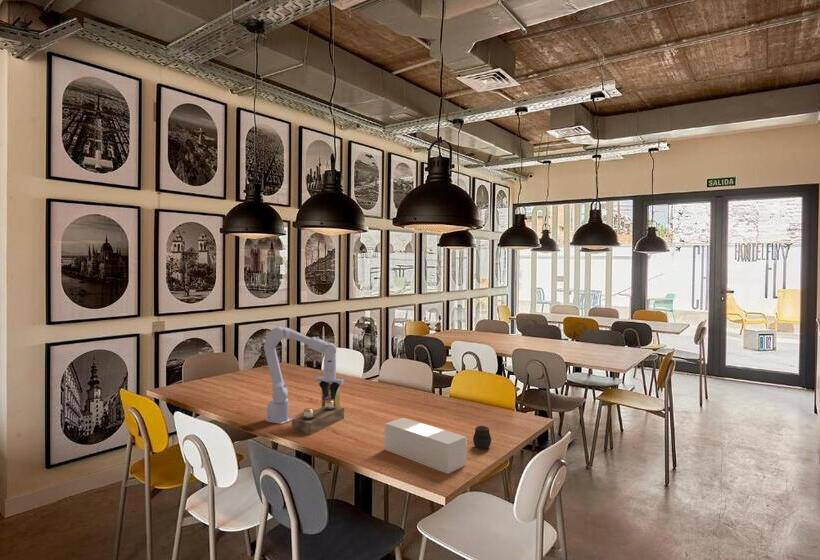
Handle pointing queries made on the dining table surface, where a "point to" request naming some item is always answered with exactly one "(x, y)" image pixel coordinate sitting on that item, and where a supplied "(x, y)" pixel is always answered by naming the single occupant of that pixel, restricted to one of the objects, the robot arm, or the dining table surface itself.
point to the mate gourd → (482, 437)
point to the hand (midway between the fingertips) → (329, 397)
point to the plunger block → (317, 420)
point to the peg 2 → (329, 405)
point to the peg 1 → (308, 414)
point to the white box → (426, 444)
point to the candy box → (336, 399)
